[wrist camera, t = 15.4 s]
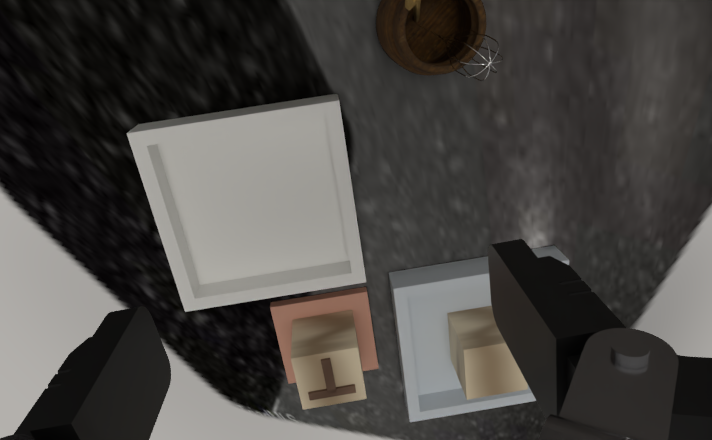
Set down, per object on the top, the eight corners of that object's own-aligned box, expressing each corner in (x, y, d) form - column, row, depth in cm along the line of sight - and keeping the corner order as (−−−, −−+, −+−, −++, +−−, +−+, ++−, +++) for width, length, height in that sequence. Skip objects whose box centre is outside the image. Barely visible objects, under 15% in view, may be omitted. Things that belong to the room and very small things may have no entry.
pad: (366, 286, 42) (367, 291, 42) (377, 362, 46) (378, 368, 45) (270, 302, 42) (270, 307, 42) (288, 377, 46) (288, 383, 45)
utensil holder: (420, 85, 36) (469, 123, 25) (352, 25, 34) (373, 38, 23) (478, 15, 35) (557, 25, 24) (410, -52, 33) (463, -75, 22)
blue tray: (554, 245, 42) (569, 260, 40) (551, 376, 48) (563, 396, 46) (388, 272, 42) (393, 289, 40) (404, 401, 48) (409, 422, 45)
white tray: (337, 93, 36) (339, 100, 34) (362, 265, 42) (366, 282, 39) (138, 124, 36) (126, 133, 33) (192, 293, 41) (185, 311, 39)
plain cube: (504, 303, 44) (527, 339, 39) (505, 350, 46) (527, 389, 41) (447, 312, 44) (463, 349, 39) (450, 359, 46) (466, 399, 41)
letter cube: (352, 309, 42) (358, 349, 38) (360, 357, 44) (366, 400, 40) (292, 319, 42) (290, 360, 37) (303, 366, 44) (303, 411, 39)
